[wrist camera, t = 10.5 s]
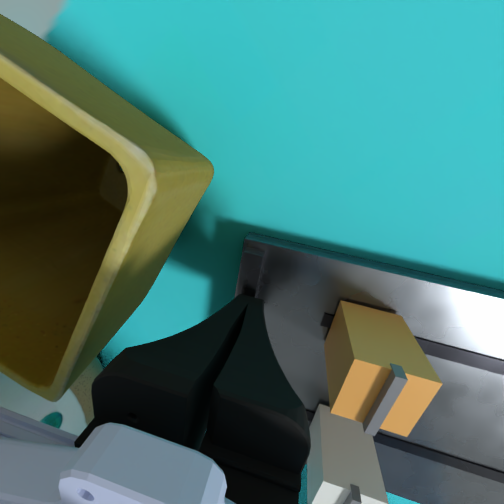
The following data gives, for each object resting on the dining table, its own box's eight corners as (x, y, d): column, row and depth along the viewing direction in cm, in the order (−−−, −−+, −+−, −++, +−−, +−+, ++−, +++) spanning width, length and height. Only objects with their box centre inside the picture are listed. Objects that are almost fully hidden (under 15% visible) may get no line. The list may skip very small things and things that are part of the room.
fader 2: (352, 448, 16) (366, 544, 12) (306, 433, 16) (306, 521, 12) (368, 418, 15) (391, 513, 11) (319, 403, 15) (324, 489, 11)
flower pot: (257, 162, 12) (159, 167, 4) (183, 280, 16) (50, 412, 8) (112, 55, 12) (-317, -174, 4) (69, 201, 15) (-200, 249, 7)
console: (545, 526, 17) (574, 571, 15) (217, 416, 20) (208, 442, 18) (777, 354, 11) (875, 394, 9) (249, 232, 14) (240, 243, 12)
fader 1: (378, 360, 13) (409, 447, 9) (323, 345, 14) (331, 422, 10) (401, 315, 12) (449, 391, 8) (340, 299, 12) (357, 365, 8)
